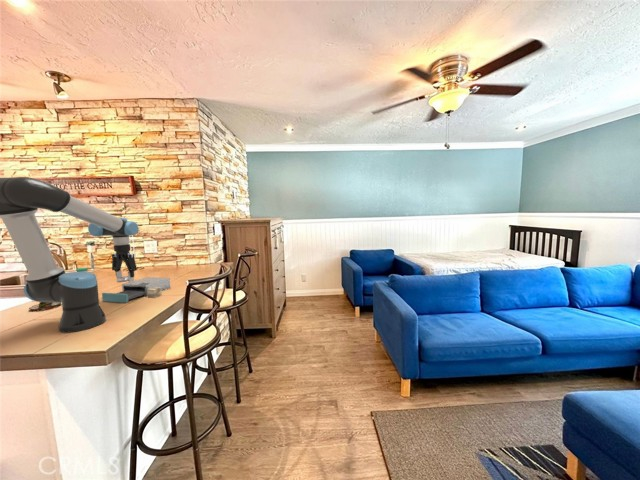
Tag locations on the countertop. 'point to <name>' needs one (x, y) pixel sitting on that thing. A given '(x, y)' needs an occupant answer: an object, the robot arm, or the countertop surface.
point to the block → (154, 292)
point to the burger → (45, 306)
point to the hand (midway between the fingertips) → (125, 282)
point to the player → (147, 284)
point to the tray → (123, 295)
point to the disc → (123, 279)
